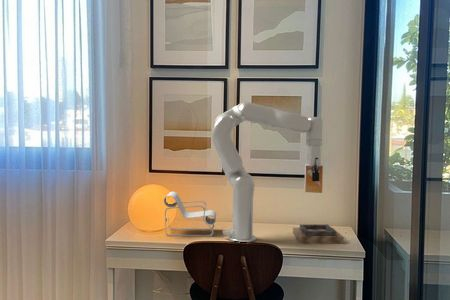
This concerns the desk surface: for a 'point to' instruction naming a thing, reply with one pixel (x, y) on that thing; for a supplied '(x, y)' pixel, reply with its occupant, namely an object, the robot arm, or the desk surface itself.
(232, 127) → the robot arm
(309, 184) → the small box
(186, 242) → the desk surface
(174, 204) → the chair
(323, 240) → the display stand
